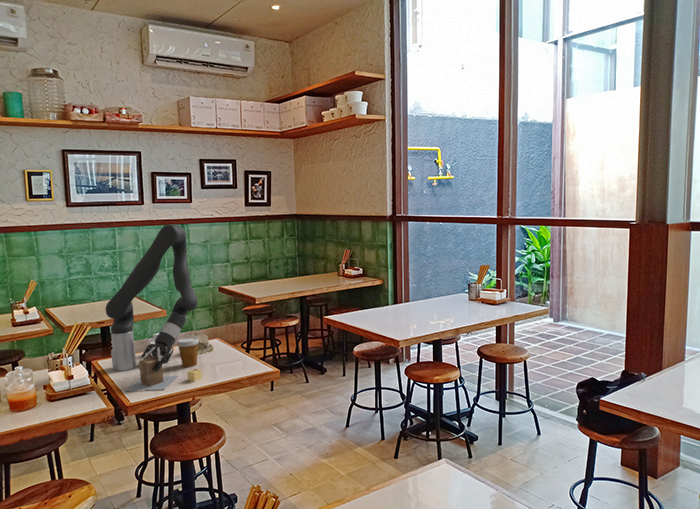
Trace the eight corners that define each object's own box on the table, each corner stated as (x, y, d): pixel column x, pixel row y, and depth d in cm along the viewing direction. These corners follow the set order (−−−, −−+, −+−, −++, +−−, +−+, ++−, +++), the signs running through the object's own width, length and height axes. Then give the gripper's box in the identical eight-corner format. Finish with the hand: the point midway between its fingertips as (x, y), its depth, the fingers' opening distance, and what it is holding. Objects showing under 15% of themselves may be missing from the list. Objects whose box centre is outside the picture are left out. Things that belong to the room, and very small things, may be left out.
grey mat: (125, 391, 212) (124, 390, 212) (141, 378, 228) (141, 377, 228) (164, 390, 211) (164, 389, 211) (177, 376, 227) (177, 375, 227)
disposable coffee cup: (203, 361, 247) (201, 336, 246) (195, 368, 238) (193, 342, 237) (184, 362, 248) (182, 337, 247) (175, 368, 239) (173, 342, 238)
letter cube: (188, 380, 222) (187, 371, 221) (195, 377, 225) (194, 368, 224) (194, 382, 219) (193, 372, 219) (201, 379, 223) (201, 369, 222)
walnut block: (141, 384, 219) (139, 360, 218) (153, 379, 224) (151, 356, 223) (151, 386, 215) (148, 362, 214) (163, 381, 221) (161, 358, 220)
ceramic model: (186, 357, 257) (185, 337, 255) (182, 352, 266) (180, 332, 265) (215, 352, 263) (213, 332, 262) (209, 347, 273) (208, 328, 272)
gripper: (151, 329, 227) (131, 363, 219) (173, 332, 220) (153, 367, 212) (162, 338, 232) (143, 371, 224) (184, 341, 225) (165, 375, 217)
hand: (148, 369), depth 218 cm, fingers open, 8 cm apart
